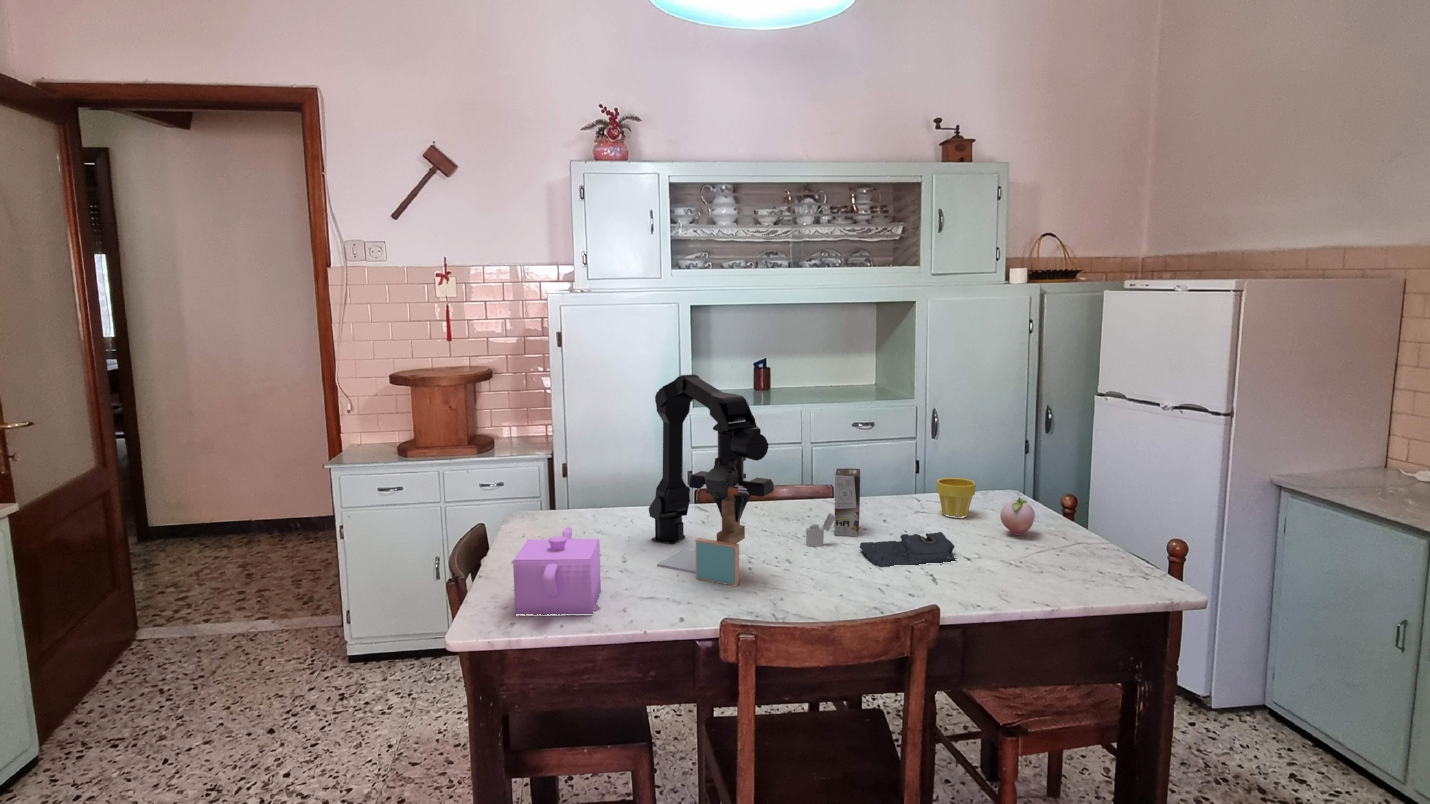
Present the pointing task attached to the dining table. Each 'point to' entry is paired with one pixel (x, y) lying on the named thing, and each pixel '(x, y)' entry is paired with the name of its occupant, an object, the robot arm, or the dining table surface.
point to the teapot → (557, 576)
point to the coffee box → (847, 502)
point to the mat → (681, 561)
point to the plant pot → (955, 495)
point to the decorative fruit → (1017, 516)
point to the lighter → (818, 532)
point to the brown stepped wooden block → (730, 523)
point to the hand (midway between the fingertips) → (730, 520)
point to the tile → (717, 561)
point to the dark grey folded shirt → (910, 550)
